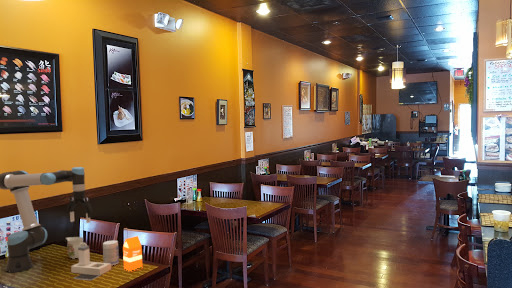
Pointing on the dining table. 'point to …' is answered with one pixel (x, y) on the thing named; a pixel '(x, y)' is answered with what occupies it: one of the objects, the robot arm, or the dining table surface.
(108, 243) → the supplement tub
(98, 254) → the dining table surface
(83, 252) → the white cylinder
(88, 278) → the phone
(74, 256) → the pitcher
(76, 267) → the white flat tray
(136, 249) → the orange juice
